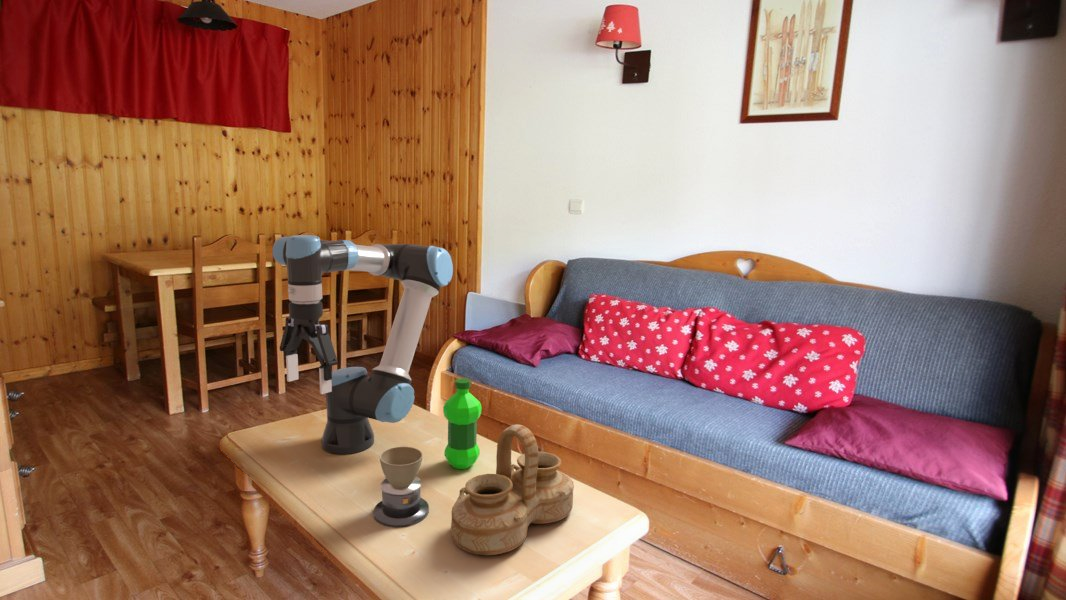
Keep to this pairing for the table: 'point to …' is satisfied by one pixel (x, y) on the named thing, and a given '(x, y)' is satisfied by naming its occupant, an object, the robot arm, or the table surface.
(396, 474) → the flower pot
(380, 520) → the grey top hat
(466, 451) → the plastic bottle
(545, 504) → the ceramic vessel
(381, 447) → the table surface
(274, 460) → the table surface
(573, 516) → the table surface
